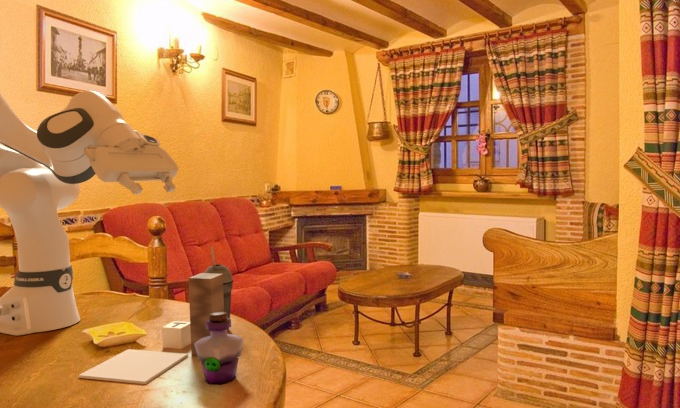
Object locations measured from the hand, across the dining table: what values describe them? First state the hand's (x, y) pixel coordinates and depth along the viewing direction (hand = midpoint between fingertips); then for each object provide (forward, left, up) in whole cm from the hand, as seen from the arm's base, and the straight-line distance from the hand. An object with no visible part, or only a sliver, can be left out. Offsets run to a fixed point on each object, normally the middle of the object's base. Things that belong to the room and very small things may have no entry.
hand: (156, 191), depth 111 cm
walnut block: (+13, -4, -33) cm, 36 cm away
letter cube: (+4, -1, -33) cm, 34 cm away
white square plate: (+3, -14, -33) cm, 36 cm away
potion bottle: (+22, -16, -34) cm, 43 cm away
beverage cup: (+8, +10, -34) cm, 36 cm away
